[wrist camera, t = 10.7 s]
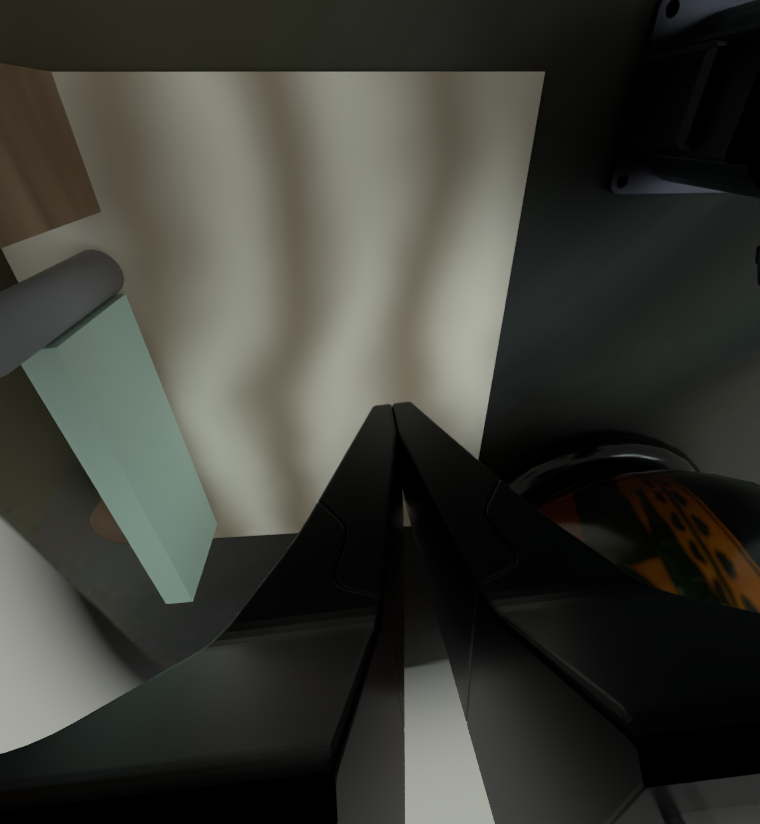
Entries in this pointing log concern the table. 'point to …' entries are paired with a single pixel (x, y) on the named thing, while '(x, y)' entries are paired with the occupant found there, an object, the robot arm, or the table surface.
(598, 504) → the amphora vase
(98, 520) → the stop post
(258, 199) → the gate base
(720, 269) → the table surface
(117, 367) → the gate
